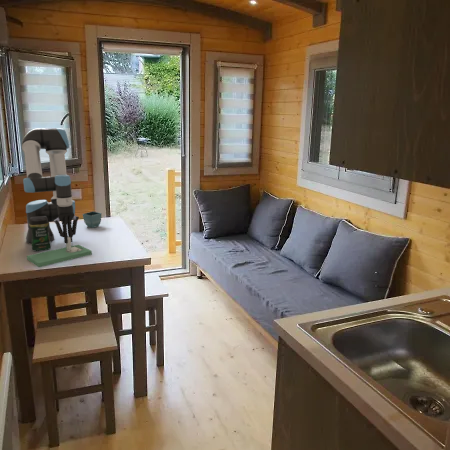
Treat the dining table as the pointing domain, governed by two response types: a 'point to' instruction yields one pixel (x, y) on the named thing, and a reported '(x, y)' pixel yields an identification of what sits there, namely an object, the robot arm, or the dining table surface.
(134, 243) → the dining table surface
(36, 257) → the mat
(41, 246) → the coffee jar
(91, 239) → the dining table surface
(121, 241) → the dining table surface
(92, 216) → the flower pot
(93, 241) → the dining table surface
